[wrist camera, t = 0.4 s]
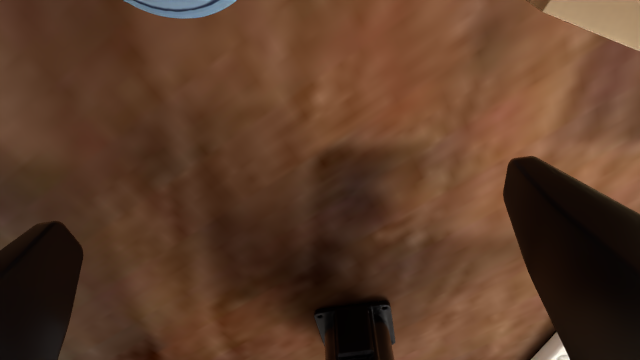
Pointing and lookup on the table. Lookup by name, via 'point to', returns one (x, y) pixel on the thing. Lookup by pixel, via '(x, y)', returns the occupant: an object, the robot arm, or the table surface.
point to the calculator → (552, 350)
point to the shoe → (181, 7)
